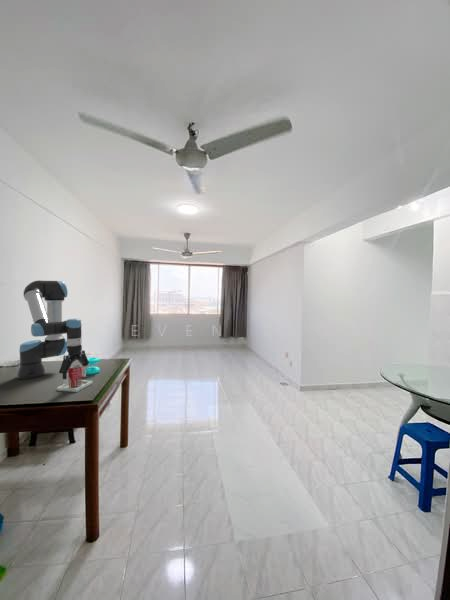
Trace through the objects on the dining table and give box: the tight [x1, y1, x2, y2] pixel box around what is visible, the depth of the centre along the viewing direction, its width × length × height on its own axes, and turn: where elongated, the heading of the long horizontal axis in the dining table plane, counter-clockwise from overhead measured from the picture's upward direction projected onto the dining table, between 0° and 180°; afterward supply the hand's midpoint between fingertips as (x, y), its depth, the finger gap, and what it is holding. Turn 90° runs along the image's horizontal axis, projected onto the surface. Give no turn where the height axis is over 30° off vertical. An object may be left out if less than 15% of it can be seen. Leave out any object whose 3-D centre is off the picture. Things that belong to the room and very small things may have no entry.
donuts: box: [86, 356, 101, 376], centre depth 176 cm, size 10×10×10 cm
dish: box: [56, 379, 94, 393], centre depth 150 cm, size 13×13×2 cm
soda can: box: [67, 364, 83, 388], centre depth 149 cm, size 7×7×12 cm
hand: (75, 380), depth 149 cm, fingers open, 13 cm apart
